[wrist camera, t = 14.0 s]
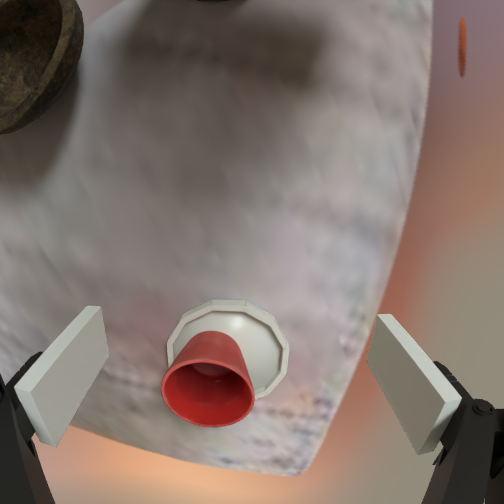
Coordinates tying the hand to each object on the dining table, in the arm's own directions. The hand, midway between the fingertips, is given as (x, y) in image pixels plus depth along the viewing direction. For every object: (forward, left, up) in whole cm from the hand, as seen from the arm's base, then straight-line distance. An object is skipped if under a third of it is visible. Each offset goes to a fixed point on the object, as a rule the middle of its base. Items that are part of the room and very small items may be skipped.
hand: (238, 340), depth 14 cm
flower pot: (+17, -3, -26) cm, 31 cm away
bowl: (-24, -30, -27) cm, 47 cm away
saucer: (+17, -1, -26) cm, 31 cm away
